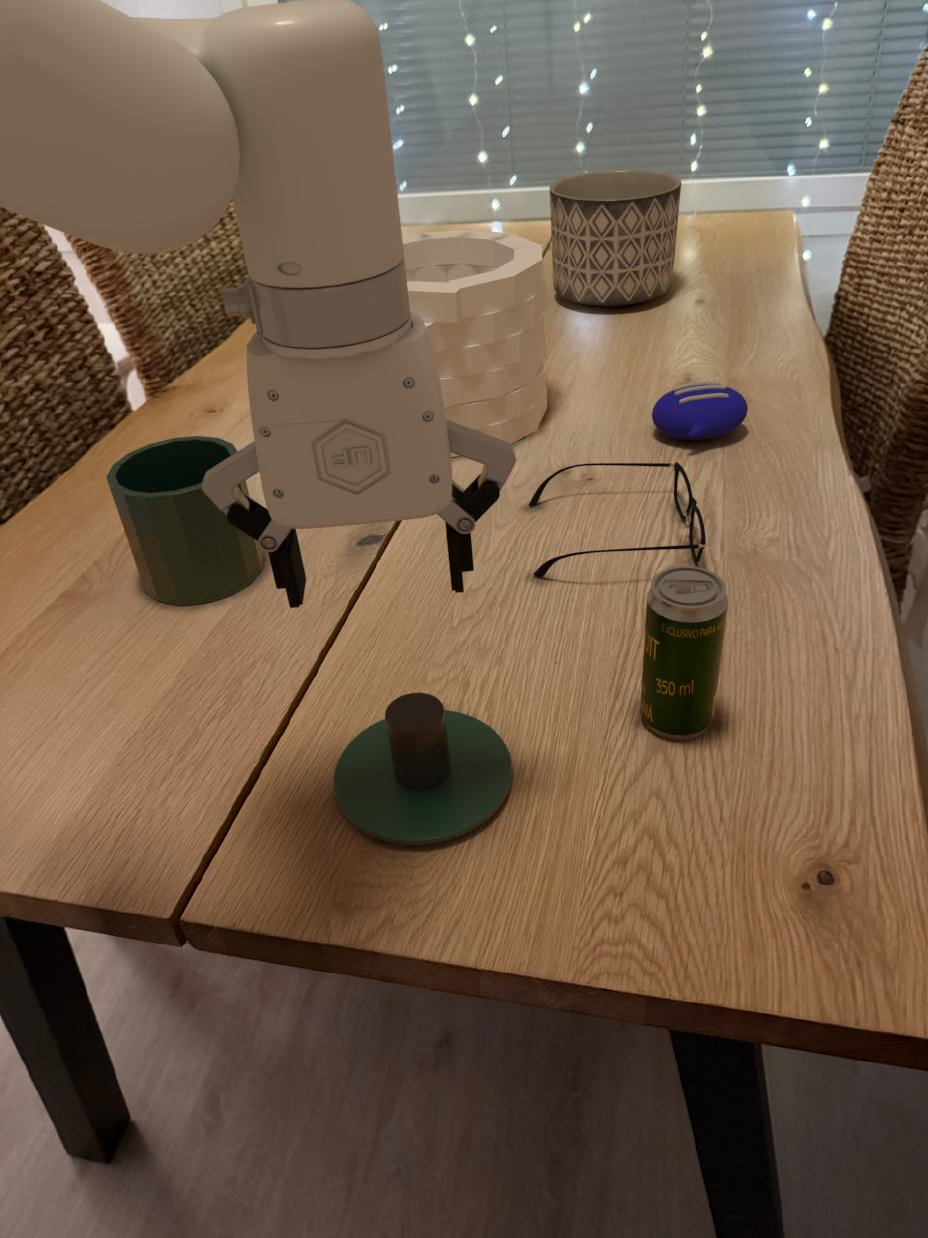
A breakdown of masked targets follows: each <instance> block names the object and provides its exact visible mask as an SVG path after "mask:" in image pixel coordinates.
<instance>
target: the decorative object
mask: <svg viewBox="0 0 928 1238" xmlns="http://www.w3.org/2000/svg"><path fill="white" fill-rule="evenodd" d="M748 410H749V409H748V402H747V400H746V399H745V397H744V396H743V395H742V394H741V393H740V392H739V391H737V390H735V389H733V388H732V387H729V386H726V385H724V384H723V385H722V383H721V382H720V381H711V380H707V381H705V380H704V381H695V382H689V383H683V384H681V385H677V386H674V387H673V388H672V390H670V391H668V392H666V393H664V394H663V395H662V396H660V397H659V399H658V400H657V401H656V402H655V404H654V405H653V408H652V410H651V419H652V422H653V424H654V426H655V427H656V429H657V430H659V432H661V433H662V434H665V435H666V436H668V437H671V438H675V439H679V440H686V441H687V440H688V441H692V440H694V441H697V440H707V439H712V438H718V437H721V436H725V435H727V434H729V433H732V432H733V431H735V430H736V429H737V428H739V427H740V426H741V425H742V423H743V422H744V421H745V419H746V417H747V415H748Z"/></svg>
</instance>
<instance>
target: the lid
mask: <svg viewBox="0 0 928 1238" xmlns="http://www.w3.org/2000/svg"><path fill="white" fill-rule="evenodd" d="M512 763H513V762H512V757H511V753H510V751H509V749H508V747H507V745H506V743H505V741H504V740H503V738H502V737H501V736H500V735H499V734H498V733H497V731H495V729H493V728H492V727H491V726H489V725H488V724H487V723H485V722H483V721H482V720H480V719H478V718H476V717H474V716H472V715H468V714H466V713H463V712H460V711H454V710H449V709H445V707H444V705H443V703H442V701H441V700H440V699H439V698H438V697H436V696H435V695H433V694H430V693H426V692H410V693H406V694H403V695H400V696H398V697H397V698H395V699H394V700H392V701H391V702H390V703H389V704H388V706H387V707H386V709H385V712H384V718H383V719H381V720H379V721H376V722H375V723H373V724H371V725H370V726H368V727H367V728H365V729H363V730H362V731H361V732H359V734H357V735H356V736H355V737H354V738H353V739H352V740H351V741H350V742H349V743H348V745H346V747H345V749H343V751H342V752H341V755H340V757H339V759H338V760H337V763H336V766H335V768H334V775H333V790H334V796H335V800H336V802H337V805H338V807H339V809H340V811H341V812H342V814H343V815H344V817H345V819H347V820H348V822H350V823H351V824H352V825H353V826H354V827H356V828H357V829H358V830H359V831H361V832H362V833H364V834H366V835H368V836H370V837H372V838H374V839H377V840H380V841H384V842H386V843H391V844H397V845H404V846H405V845H406V846H420V845H421V846H424V845H425V846H426V845H432V844H439V843H442V842H446V841H450V840H454V839H457V838H459V837H461V836H464V835H466V834H468V833H470V832H471V831H473V830H475V829H476V828H478V827H480V826H481V825H482V824H484V823H485V822H486V821H487V820H489V819H490V818H492V816H493V815H494V814H495V813H496V812H497V811H498V810H499V808H500V807H501V806H502V804H503V802H504V801H505V799H506V797H507V795H508V794H509V791H510V788H511V784H512V779H513V765H512Z"/></svg>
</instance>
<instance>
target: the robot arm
mask: <svg viewBox="0 0 928 1238" xmlns="http://www.w3.org/2000/svg"><path fill="white" fill-rule="evenodd" d="M387 94H388V93H387V86H386V77H385V67H384V59H383V51H382V45H381V38H380V35H379V32H378V28H377V25H376V23H375V22H374V20H373V18H372V16H371V15H370V14H369V13H368V12H367V10H365V9H364V8H363V7H361V6H360V5H359V4H356V3H353V2H351V1H348V0H299V1H288V2H276V3H269V4H259V5H252V6H246V7H241V8H237V9H236V8H235V9H233V10H230V11H225V12H224V13H221V14H220V15H218V16H216V17H211V18H158V17H157V18H156V17H140V16H139V17H138V16H137V17H136V16H130V15H128V14H126V13H125V12H123V11H121V10H118V9H117V8H115V7H113V6H111V5H110V4H108V3H106V2H104V1H102V0H0V207H1V208H3V209H5V210H7V211H10V212H12V213H15V214H17V215H20V216H21V217H24V218H27V219H29V220H32V221H34V222H36V223H39V224H41V225H44V226H46V227H49V228H51V229H53V230H56V231H58V232H61V233H64V234H66V235H68V236H71V237H74V238H76V239H80V240H82V241H85V242H88V243H90V244H93V245H95V246H98V247H101V248H104V249H109V250H113V251H117V252H123V253H131V254H138V255H147V254H149V255H150V254H162V253H167V252H170V251H171V252H172V251H175V250H179V249H182V248H184V247H186V246H188V245H190V244H192V243H194V242H196V241H199V239H201V238H202V237H204V236H205V235H206V234H207V233H208V232H210V231H211V230H212V229H213V228H214V227H215V226H216V225H217V223H218V222H219V221H220V220H221V218H222V217H223V216H224V215H225V213H226V212H227V210H228V207H229V206H230V203H231V201H232V205H233V209H234V214H235V218H236V222H237V227H238V228H237V229H238V232H239V236H240V237H239V238H240V241H241V247H242V252H243V256H244V261H245V266H246V271H247V274H248V277H246V278H245V280H244V283H241V284H237V286H236V287H231V288H229V287H228V288H223V289H222V302H223V303H222V304H223V307H224V312H225V315H226V316H227V317H228V318H229V317H231V318H232V317H242V319H250V322H251V324H252V325H254V326H255V329H256V332H255V333H254V334H253V335H252V336H251V338H250V340H249V341H248V343H247V345H246V378H247V392H248V401H249V402H248V403H249V411H250V418H251V425H252V433H253V440H254V441H252V442H251V443H248V444H247V445H245V446H244V447H242V448H241V449H240V450H237V451H238V452H236V453H235V454H233V455H232V456H230V457H228V458H227V459H225V460H224V461H222V462H221V463H219V464H217V465H216V466H214V467H213V468H211V469H210V470H208V471H207V472H206V473H205V476H204V479H203V482H202V485H201V488H202V490H203V492H204V493H205V494H206V495H207V496H208V497H209V499H210V500H211V501H212V502H213V503H214V504H215V505H216V506H217V507H218V508H219V510H220V511H223V512H224V513H225V514H226V516H227V520H228V522H229V523H230V524H231V525H233V526H234V527H236V528H238V529H239V530H241V531H242V532H244V533H246V534H247V535H249V536H250V537H252V538H253V539H255V540H257V541H258V545H259V547H260V548H261V549H262V550H263V552H266V553H267V554H268V558H269V562H270V567H271V571H272V575H273V579H274V583H275V587H276V589H277V590H280V589H282V590H284V589H285V593H286V597H287V601H288V606H289V608H290V609H295V608H296V609H297V608H300V607H301V605H302V606H303V605H304V598H305V590H306V584H307V575H306V571H305V565H304V561H303V557H302V551H301V547H300V543H299V538H298V533H297V530H306V529H307V530H308V529H324V528H334V527H335V528H336V527H346V526H358V525H368V524H369V525H370V524H379V523H389V522H399V521H408V520H418V519H424V518H428V517H432V516H435V515H437V516H438V517H439V518H441V519H442V520H443V521H444V522H445V523H444V524H445V533H446V535H445V536H446V546H447V557H448V566H449V567H448V568H449V575H450V586H451V592H452V591H453V592H454V591H455V594H458V593H464V592H465V588H464V577H463V573H466V572H474V571H475V567H474V555H473V542H472V541H473V540H472V532H473V531H474V530H475V529H476V527H477V526H476V525H477V524H476V523H477V522H478V521H480V519H481V518H482V517H483V516H484V515H485V514H486V513H487V512H488V510H490V508H492V506H494V504H495V503H496V502H497V501H498V500H499V499H500V496H501V491H502V489H503V487H504V486H505V484H506V483H507V480H508V478H509V476H510V474H511V473H512V470H513V468H514V466H515V465H516V462H517V456H516V453H515V448H514V445H513V443H512V444H510V443H508V442H506V441H503V440H500V439H498V438H495V437H492V436H490V435H487V434H484V433H482V432H479V431H476V430H474V429H471V428H468V427H465V426H463V425H460V424H457V423H455V422H452V421H449V420H447V419H446V415H445V408H444V402H443V396H442V389H441V384H440V379H439V373H438V368H437V364H436V360H435V356H434V352H433V348H432V345H431V342H430V338H429V335H428V332H427V329H426V327H425V324H424V321H423V319H422V318H421V317H420V316H419V315H417V314H415V313H413V312H410V305H409V296H408V287H407V278H406V268H405V259H404V249H403V240H402V237H403V233H402V223H401V212H400V205H399V196H398V186H397V178H396V177H397V176H396V169H395V159H394V158H395V157H394V151H393V150H394V149H393V140H392V133H391V132H392V131H391V124H390V123H391V122H390V113H389V112H390V111H389V104H388V96H387ZM450 452H452V453H454V454H457V455H460V456H459V457H463V458H465V459H468V460H470V461H473V462H476V463H479V464H482V465H483V467H482V470H481V472H480V474H479V475H478V476H477V477H476V478H475V479H474V480H473V481H471V483H470V484H469V485H468V486H467V487H466V488H465V489H464V488H463V487H461V485H459V484H458V483H457V482H456V481H455V480H454V479H453V467H452V466H453V465H452V464H453V463H452V458H451V453H450ZM258 473H259V476H260V482H261V489H262V493H263V498H264V503H265V506H266V507H265V506H263V505H262V504H260V503H259V502H257V501H256V500H254V499H253V498H251V497H250V498H249V497H248V496H246V495H243V494H242V493H241V490H240V489H239V488H238V486H237V485H239V484H240V483H242V482H244V481H245V480H246V481H247V480H249V479H250V478H252V477H254V476H255V475H257V474H258Z"/></svg>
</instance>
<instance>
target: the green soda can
mask: <svg viewBox="0 0 928 1238" xmlns="http://www.w3.org/2000/svg"><path fill="white" fill-rule="evenodd" d="M728 597H729V596H728V595H727V586H726V583H725V582H724V580H723V579H722V577H720V576H719V575H718V574H716V573H715V572H714V571H712V570H709V569H707V568H704V567H699V566H694V565H679V566H671V567H668V568H665V569H662V570H661V571H659V572H658V573H656V574H655V575H654V576H653V578H652V579H651V581H650V588H649V589H648V591H647V593H646V605H645V606H646V607H645V622H644V639H643V655H642V672H641V687H640V688H641V689H640V705H639V707H640V711H639V713H640V715H641V717H642V719H643V721H644V723H645V725H646V727H647V728H649V730H650V731H651V732H653V733H654V734H656V735H657V736H659V737H662V738H664V739H668V740H674V741H675V740H676V741H685V740H686V741H687V740H692V739H694V738H696V737H699V736H700V735H702V734H703V733H704V732H705V731H706V730H707V729H708V728H709V727H710V725H712V722H713V721H714V717H715V710H716V703H717V695H718V688H719V679H720V672H721V663H722V656H723V647H724V641H725V631H726V623H727V615H728V607H729V599H728Z"/></svg>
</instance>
